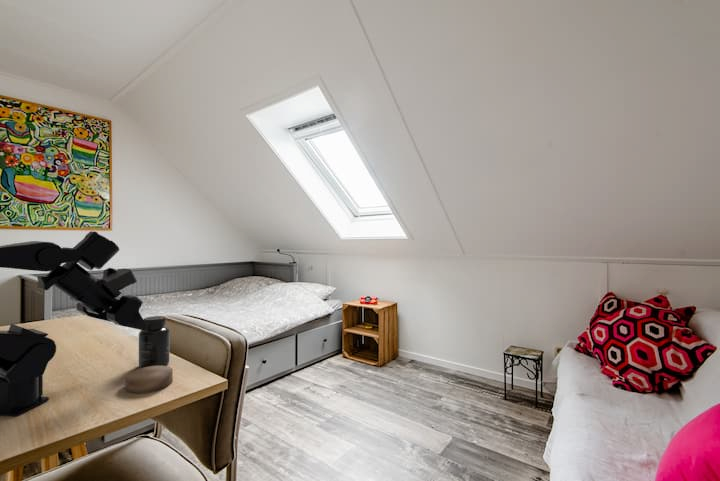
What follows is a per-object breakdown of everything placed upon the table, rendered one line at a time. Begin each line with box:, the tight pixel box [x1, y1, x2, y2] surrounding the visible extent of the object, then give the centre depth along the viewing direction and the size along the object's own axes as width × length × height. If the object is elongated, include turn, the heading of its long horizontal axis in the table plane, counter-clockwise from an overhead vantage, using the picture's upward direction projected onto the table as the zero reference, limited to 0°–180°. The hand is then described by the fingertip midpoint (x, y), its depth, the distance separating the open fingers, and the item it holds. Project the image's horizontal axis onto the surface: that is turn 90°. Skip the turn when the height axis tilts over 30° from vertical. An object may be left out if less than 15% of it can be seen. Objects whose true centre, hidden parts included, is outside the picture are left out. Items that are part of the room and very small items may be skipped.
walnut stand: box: [124, 365, 174, 394], centre depth 80 cm, size 9×9×2 cm
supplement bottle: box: [138, 315, 171, 369], centre depth 91 cm, size 7×7×12 cm
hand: (135, 325), depth 87 cm, fingers open, 9 cm apart
